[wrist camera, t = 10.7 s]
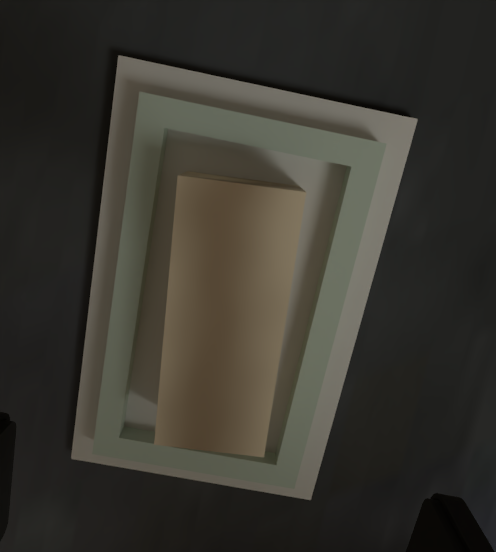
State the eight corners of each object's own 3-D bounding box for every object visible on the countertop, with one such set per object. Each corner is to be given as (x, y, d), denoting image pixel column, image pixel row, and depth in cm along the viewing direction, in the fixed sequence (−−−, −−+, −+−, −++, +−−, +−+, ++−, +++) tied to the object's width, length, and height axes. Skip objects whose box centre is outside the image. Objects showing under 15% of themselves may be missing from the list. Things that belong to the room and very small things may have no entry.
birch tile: (298, 185, 21) (306, 192, 18) (262, 420, 24) (263, 457, 22) (187, 171, 21) (177, 175, 18) (165, 409, 24) (153, 444, 21)
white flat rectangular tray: (309, 493, 26) (313, 513, 25) (74, 452, 26) (63, 471, 24) (413, 119, 21) (425, 117, 20) (121, 57, 20) (111, 50, 19)
